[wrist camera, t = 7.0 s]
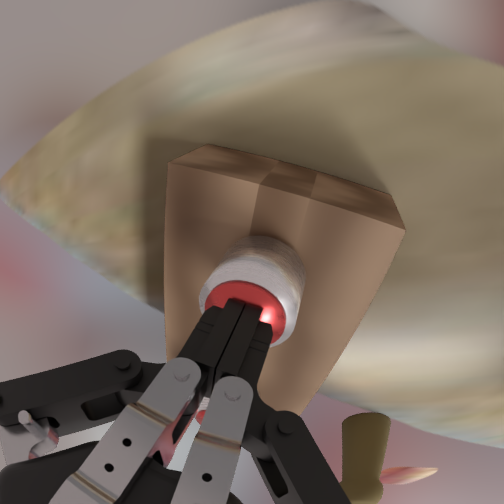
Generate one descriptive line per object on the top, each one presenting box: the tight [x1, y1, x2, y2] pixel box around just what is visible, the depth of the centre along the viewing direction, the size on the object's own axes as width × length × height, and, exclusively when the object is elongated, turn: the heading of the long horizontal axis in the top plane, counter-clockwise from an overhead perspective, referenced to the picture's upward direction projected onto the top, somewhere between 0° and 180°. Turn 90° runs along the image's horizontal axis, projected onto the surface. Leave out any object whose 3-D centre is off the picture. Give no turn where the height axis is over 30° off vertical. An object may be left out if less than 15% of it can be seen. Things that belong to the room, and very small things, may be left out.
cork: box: [339, 413, 391, 504], centre depth 25 cm, size 6×6×11 cm
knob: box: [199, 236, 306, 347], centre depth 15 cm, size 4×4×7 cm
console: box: [164, 144, 406, 416], centre depth 21 cm, size 12×21×5 cm, turn 170°
